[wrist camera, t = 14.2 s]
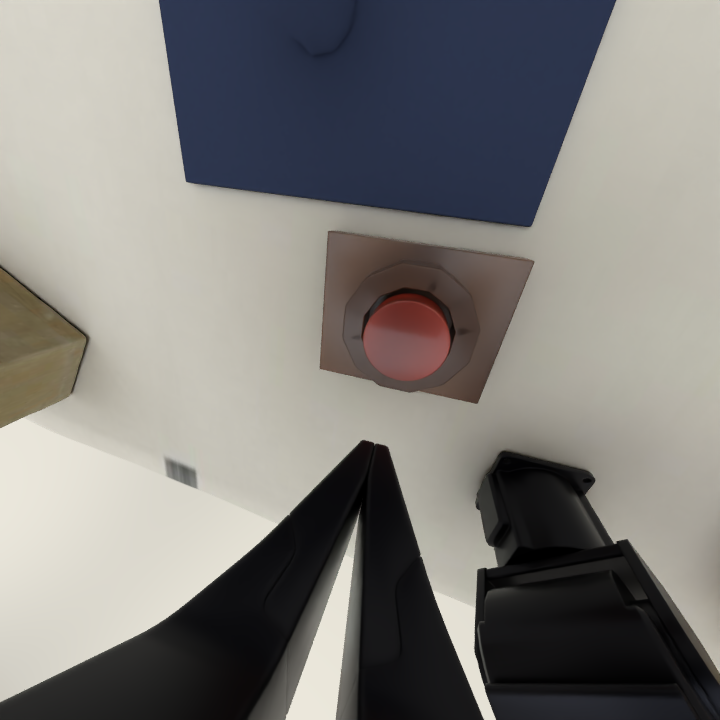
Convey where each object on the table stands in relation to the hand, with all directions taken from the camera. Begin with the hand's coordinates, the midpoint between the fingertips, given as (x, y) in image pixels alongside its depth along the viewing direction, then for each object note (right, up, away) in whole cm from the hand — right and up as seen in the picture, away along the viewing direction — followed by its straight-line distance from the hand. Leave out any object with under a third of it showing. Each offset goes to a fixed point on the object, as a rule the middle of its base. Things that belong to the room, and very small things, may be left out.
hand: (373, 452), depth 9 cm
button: (+2, +4, +7) cm, 8 cm away
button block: (+3, +6, +9) cm, 11 cm away
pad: (-1, +17, +4) cm, 18 cm away
